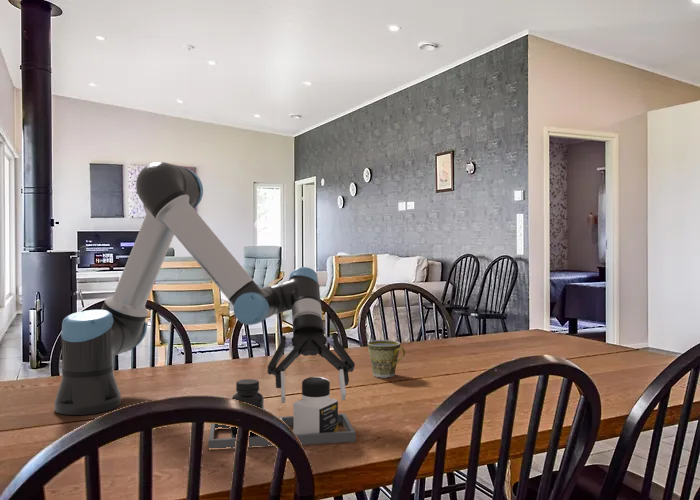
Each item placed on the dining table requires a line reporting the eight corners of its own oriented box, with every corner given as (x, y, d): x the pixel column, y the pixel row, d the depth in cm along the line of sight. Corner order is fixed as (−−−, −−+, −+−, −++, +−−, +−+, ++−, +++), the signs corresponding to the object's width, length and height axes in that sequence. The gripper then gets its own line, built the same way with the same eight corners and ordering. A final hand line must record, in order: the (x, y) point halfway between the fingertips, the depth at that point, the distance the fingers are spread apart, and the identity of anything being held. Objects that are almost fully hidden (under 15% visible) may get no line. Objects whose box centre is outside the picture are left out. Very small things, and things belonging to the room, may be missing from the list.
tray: (208, 450, 119) (208, 440, 119) (211, 429, 132) (211, 420, 132) (355, 441, 125) (355, 432, 125) (344, 421, 138) (344, 413, 137)
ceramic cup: (360, 375, 182) (360, 342, 181) (381, 370, 189) (381, 338, 189) (393, 383, 173) (394, 348, 172) (414, 376, 180) (414, 344, 180)
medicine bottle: (319, 441, 125) (320, 384, 125) (292, 434, 129) (292, 379, 128) (338, 431, 131) (338, 377, 131) (312, 425, 135) (312, 373, 134)
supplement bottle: (256, 444, 123) (256, 386, 123) (225, 441, 124) (225, 384, 124) (268, 433, 130) (267, 378, 129) (238, 430, 131) (238, 376, 131)
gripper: (355, 329, 153) (366, 404, 138) (256, 331, 148) (257, 409, 134) (359, 311, 147) (370, 387, 133) (256, 313, 143) (257, 392, 129)
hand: (313, 398), depth 134 cm, fingers open, 13 cm apart
